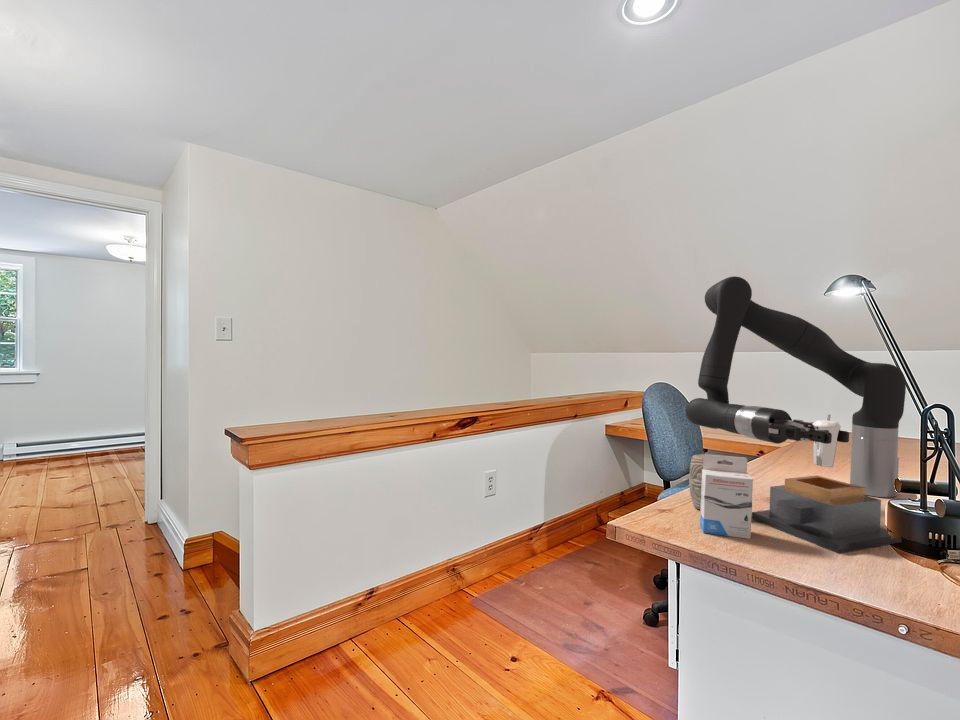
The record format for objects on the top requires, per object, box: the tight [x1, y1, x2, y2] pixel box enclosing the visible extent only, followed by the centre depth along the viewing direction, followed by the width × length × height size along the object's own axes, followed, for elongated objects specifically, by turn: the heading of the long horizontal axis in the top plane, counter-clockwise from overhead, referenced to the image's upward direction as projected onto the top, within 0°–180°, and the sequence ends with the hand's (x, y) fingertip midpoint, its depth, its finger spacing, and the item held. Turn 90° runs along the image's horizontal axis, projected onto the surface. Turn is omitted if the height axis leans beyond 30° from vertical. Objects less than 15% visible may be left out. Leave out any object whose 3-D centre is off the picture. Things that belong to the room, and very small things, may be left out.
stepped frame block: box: [751, 475, 902, 554], centre depth 97 cm, size 18×18×10 cm
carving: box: [688, 453, 723, 511], centre depth 109 cm, size 6×8×12 cm
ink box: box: [699, 453, 754, 540], centre depth 96 cm, size 8×5×15 cm, turn 73°
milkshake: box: [812, 414, 842, 468], centre depth 97 cm, size 4×5×10 cm
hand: (838, 437), depth 95 cm, fingers closed on milkshake, 4 cm apart
